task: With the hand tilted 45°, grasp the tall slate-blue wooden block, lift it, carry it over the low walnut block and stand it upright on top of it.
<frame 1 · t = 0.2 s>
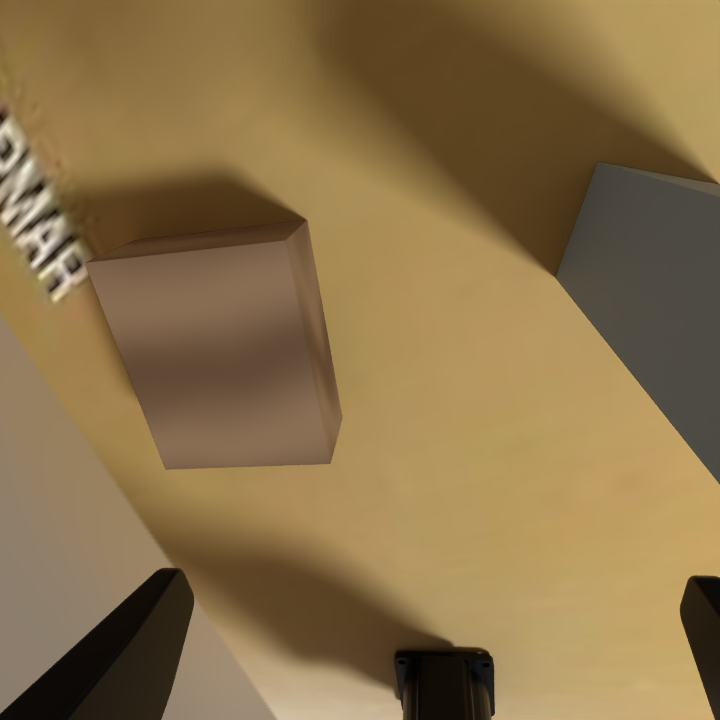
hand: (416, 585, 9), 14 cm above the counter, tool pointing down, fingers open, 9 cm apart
walnut block: (247, 332, 24), on the counter
slate block: (632, 233, 19), on the counter
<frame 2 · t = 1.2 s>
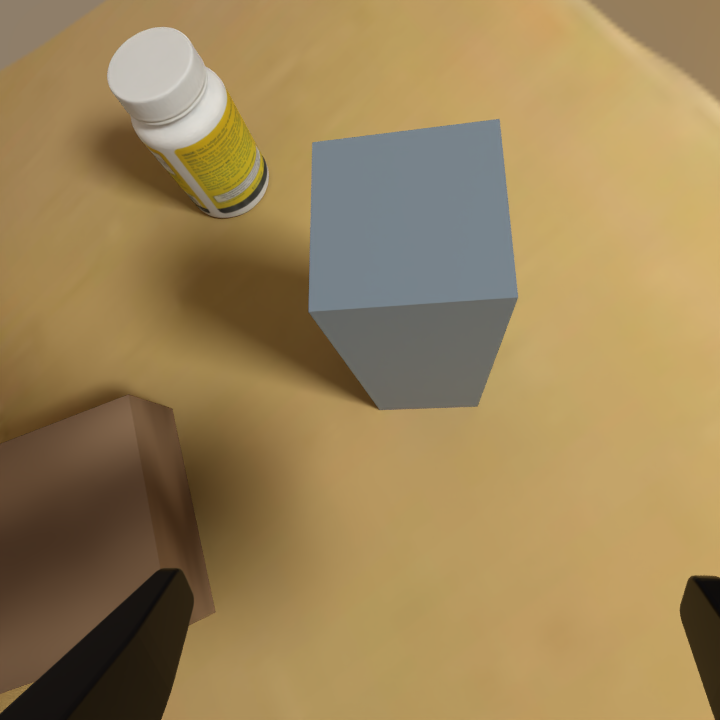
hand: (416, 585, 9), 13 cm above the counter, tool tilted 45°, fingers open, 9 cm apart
walnut block: (122, 530, 24), on the counter
slate block: (425, 361, 24), on the counter
supplement bottle: (233, 186, 29), on the counter
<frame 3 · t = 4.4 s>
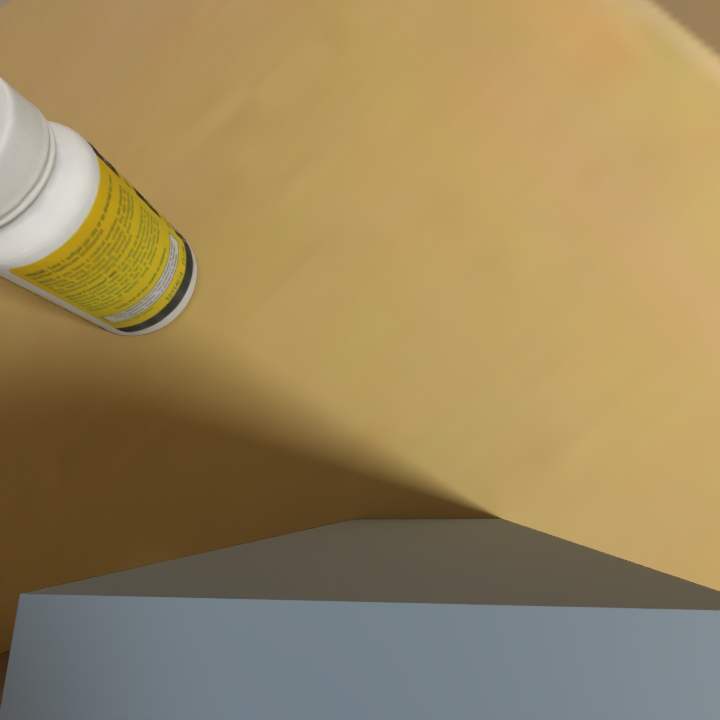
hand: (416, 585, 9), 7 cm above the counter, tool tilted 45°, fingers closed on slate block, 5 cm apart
slate block: (430, 599, 15), on the counter, touching gripper
supplement bottle: (147, 284, 20), on the counter
when the fingers open (12 cm above the counter, at t = 8.7 s): slate block drops 2 cm, point 4 cm above the counter.
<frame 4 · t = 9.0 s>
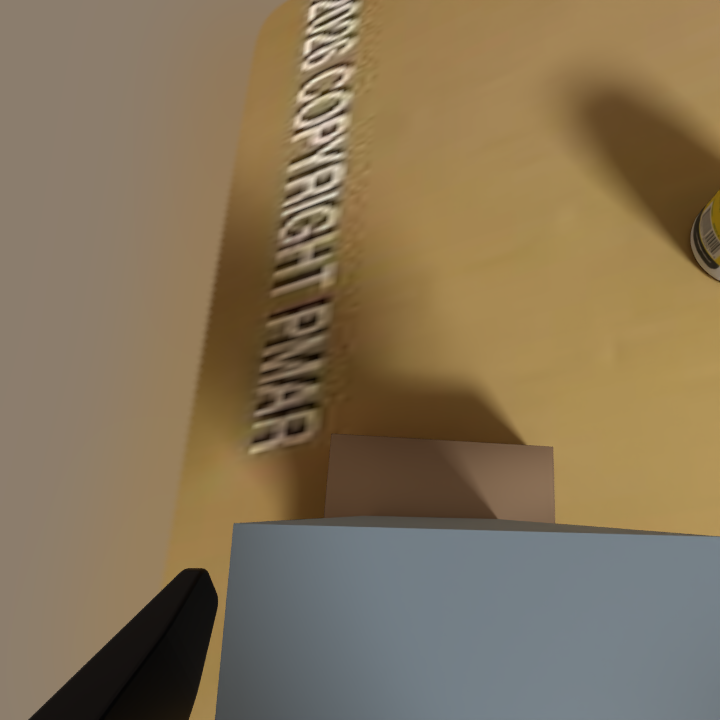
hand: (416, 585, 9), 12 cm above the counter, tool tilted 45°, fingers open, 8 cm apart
walnut block: (434, 571, 20), on the counter
slate block: (431, 589, 16), point 4 cm above the counter
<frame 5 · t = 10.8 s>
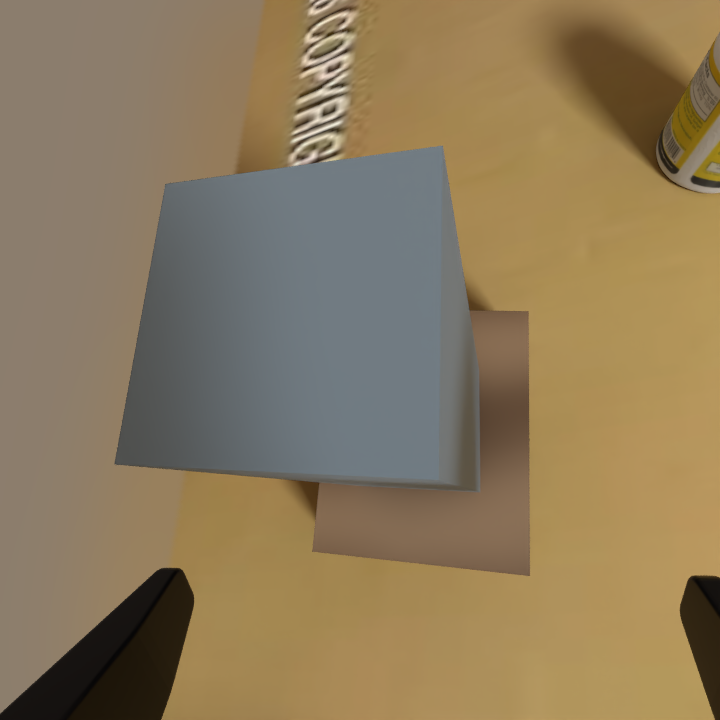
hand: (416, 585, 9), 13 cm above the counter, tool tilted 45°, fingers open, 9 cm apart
walnut block: (426, 438, 23), on the counter
slate block: (419, 428, 19), point 4 cm above the counter, tilted 6°
supplement bottle: (703, 157, 24), on the counter
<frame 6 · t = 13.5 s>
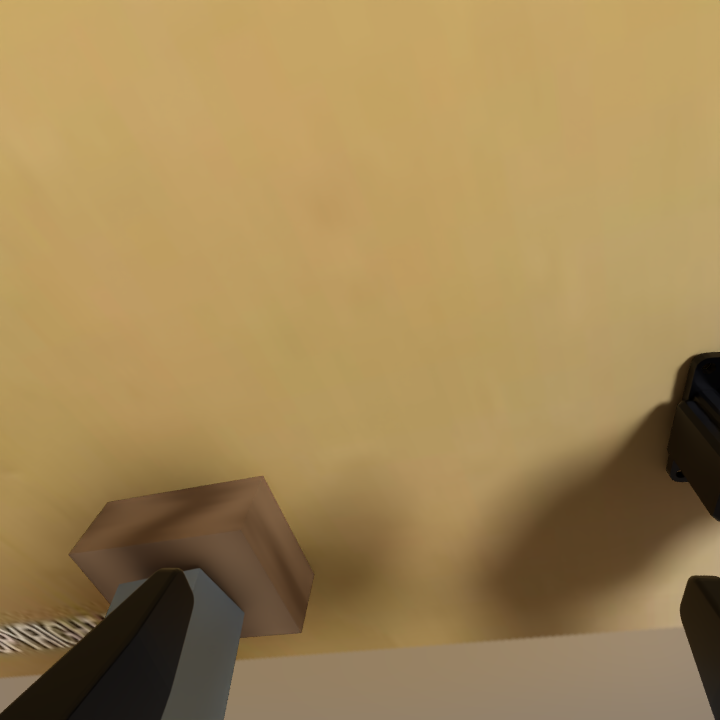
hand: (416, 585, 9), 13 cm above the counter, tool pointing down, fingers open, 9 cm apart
walnut block: (215, 533, 29), on the counter, touching slate block
slate block: (183, 599, 25), point 4 cm above the counter, tilted 9°, touching walnut block
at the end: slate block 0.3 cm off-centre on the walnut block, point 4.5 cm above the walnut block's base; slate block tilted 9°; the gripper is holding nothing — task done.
